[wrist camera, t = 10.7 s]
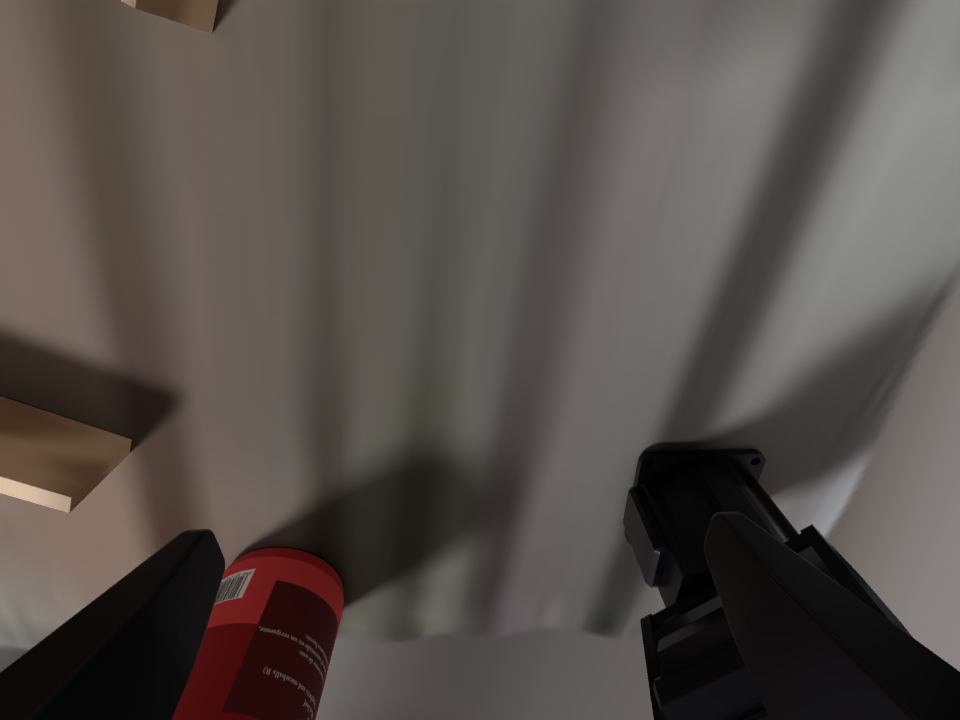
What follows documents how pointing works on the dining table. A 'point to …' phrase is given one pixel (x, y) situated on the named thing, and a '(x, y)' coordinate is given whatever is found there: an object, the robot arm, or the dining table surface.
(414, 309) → the dining table surface
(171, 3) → the cold frame
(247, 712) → the canned food
